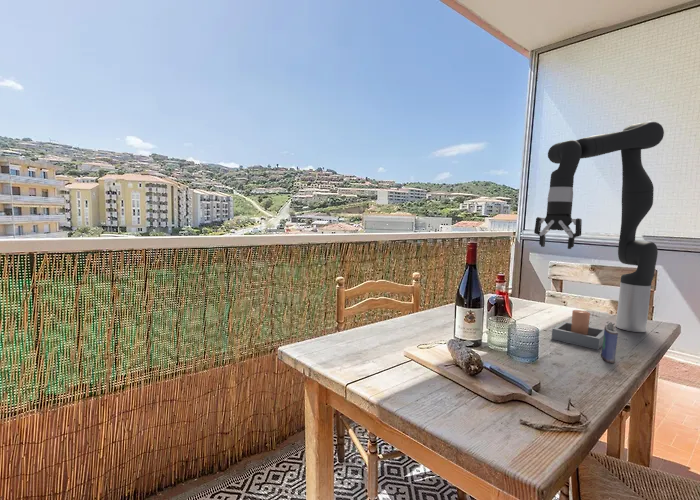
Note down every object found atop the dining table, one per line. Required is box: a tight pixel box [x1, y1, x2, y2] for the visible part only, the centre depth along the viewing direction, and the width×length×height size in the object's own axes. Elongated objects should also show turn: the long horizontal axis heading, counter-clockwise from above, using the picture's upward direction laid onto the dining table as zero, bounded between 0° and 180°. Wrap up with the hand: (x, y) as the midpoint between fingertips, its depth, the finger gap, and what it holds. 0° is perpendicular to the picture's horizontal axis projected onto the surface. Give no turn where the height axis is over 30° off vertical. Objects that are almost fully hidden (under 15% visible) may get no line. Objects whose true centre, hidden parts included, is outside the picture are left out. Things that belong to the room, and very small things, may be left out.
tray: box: [551, 321, 604, 351], centre depth 127 cm, size 13×13×4 cm
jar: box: [570, 309, 591, 335], centre depth 127 cm, size 5×5×9 cm
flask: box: [600, 321, 619, 364], centre depth 111 cm, size 9×3×11 cm, turn 152°
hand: (555, 247), depth 132 cm, fingers open, 8 cm apart
